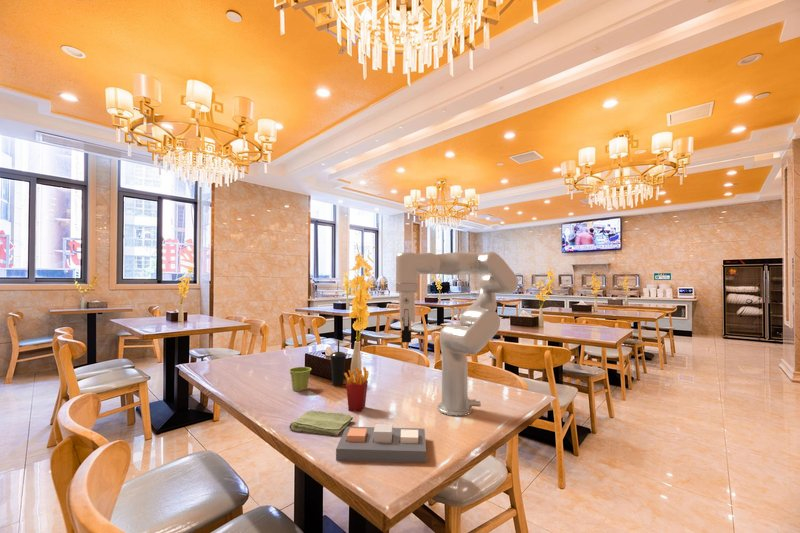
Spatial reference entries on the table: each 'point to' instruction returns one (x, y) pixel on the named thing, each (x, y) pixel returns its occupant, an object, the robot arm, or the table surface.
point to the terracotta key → (357, 435)
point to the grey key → (383, 433)
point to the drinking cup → (338, 367)
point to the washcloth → (321, 422)
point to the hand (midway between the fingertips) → (406, 341)
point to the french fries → (356, 389)
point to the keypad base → (382, 448)
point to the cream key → (409, 436)
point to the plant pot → (300, 378)
